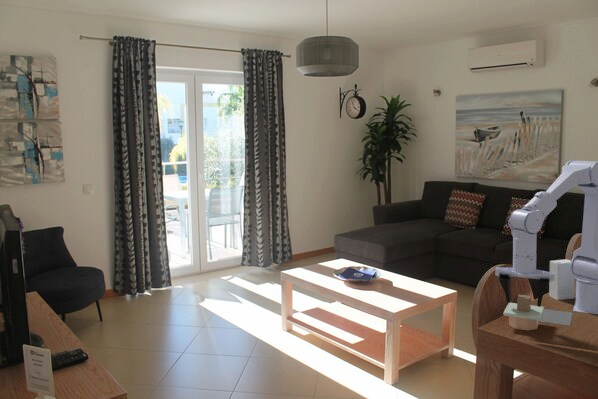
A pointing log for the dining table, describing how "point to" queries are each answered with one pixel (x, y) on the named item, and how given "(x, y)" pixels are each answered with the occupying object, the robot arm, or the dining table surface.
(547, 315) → the grey mat
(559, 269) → the skincare box
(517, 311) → the sage lid
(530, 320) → the terracotta bowl
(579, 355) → the dining table surface
